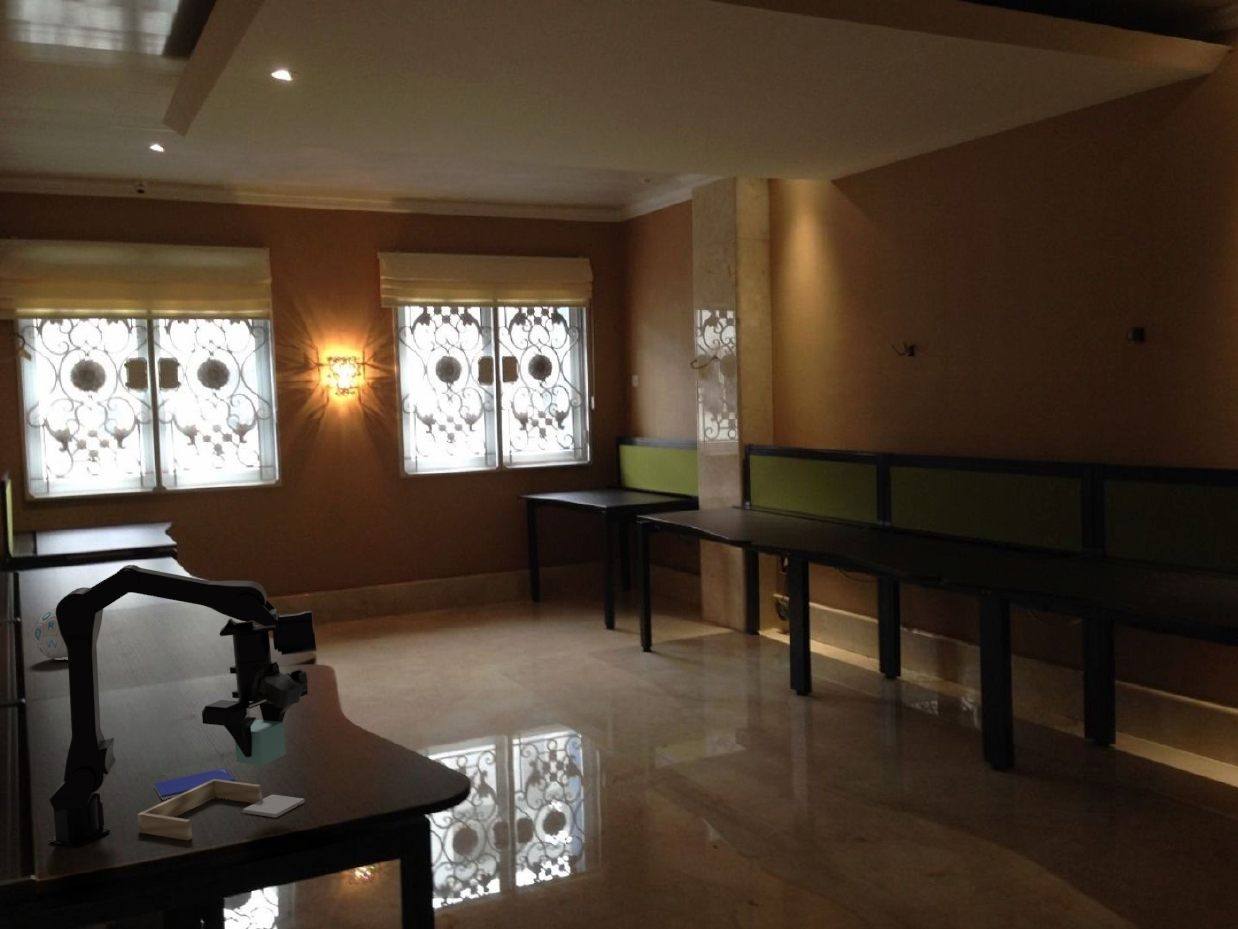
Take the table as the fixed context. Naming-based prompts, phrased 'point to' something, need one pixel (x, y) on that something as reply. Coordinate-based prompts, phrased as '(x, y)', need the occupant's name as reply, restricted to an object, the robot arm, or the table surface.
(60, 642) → the puzzle ball
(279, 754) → the block
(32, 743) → the table surface
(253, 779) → the table surface
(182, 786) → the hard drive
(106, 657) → the table surface
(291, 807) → the pad
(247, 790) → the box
